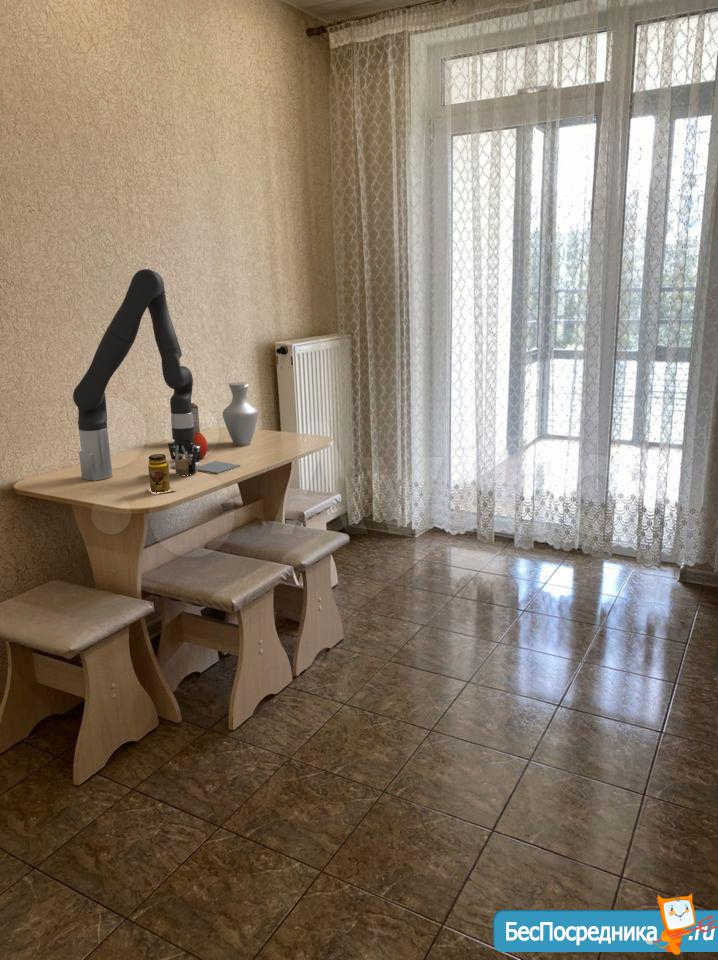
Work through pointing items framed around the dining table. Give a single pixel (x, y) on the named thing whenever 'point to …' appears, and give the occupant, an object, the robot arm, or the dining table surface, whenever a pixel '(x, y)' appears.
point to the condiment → (158, 473)
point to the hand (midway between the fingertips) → (186, 472)
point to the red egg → (200, 444)
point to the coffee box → (195, 417)
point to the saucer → (196, 464)
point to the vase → (240, 415)
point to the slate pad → (216, 467)
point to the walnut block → (183, 467)
